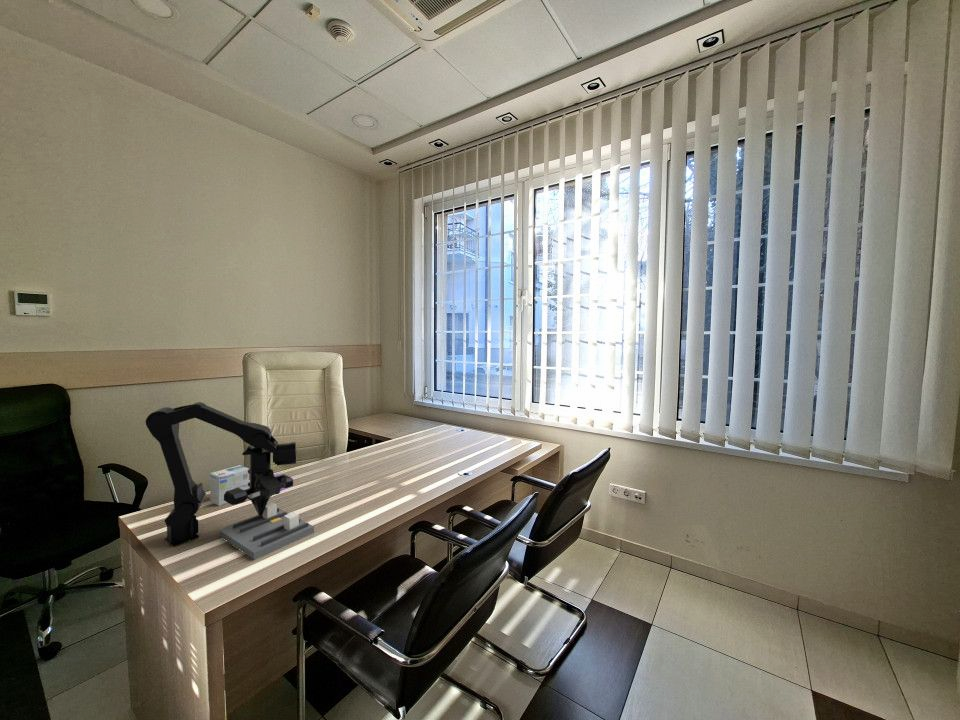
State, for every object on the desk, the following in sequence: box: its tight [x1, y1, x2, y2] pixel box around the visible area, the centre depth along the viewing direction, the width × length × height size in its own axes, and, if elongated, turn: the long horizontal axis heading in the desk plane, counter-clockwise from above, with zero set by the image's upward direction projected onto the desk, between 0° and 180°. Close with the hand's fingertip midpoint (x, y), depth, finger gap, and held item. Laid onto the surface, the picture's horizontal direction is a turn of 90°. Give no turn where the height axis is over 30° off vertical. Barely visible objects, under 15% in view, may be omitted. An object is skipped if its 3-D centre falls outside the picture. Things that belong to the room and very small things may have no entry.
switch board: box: [219, 507, 315, 561], centre depth 117 cm, size 18×20×3 cm
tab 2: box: [284, 511, 300, 530], centre depth 117 cm, size 3×3×4 cm
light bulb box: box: [209, 464, 250, 507], centre depth 139 cm, size 11×7×11 cm, turn 149°
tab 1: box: [262, 501, 278, 519], centre depth 123 cm, size 3×3×4 cm
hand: (260, 514), depth 120 cm, fingers closed
